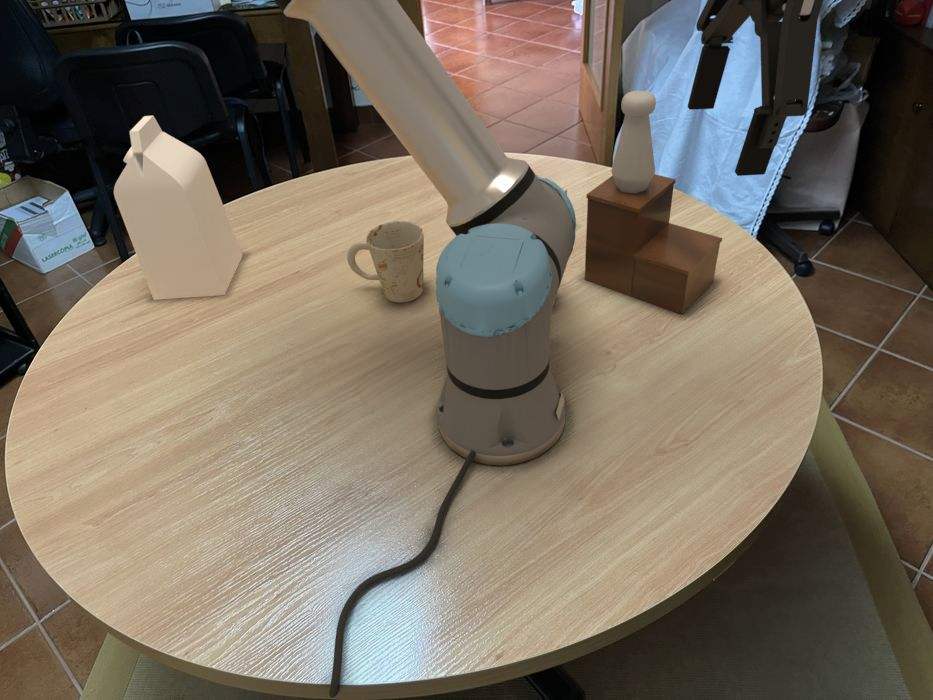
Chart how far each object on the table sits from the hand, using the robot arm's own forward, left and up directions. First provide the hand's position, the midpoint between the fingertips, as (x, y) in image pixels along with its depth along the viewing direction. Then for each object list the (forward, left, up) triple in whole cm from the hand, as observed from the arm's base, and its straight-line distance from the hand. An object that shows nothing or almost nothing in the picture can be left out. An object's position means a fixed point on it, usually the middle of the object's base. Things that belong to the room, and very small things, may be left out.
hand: (723, 138), depth 71 cm
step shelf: (+13, +13, -29) cm, 35 cm away
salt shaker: (+13, +17, -15) cm, 26 cm away
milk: (-26, +74, -30) cm, 84 cm away
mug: (-11, +44, -30) cm, 54 cm away
